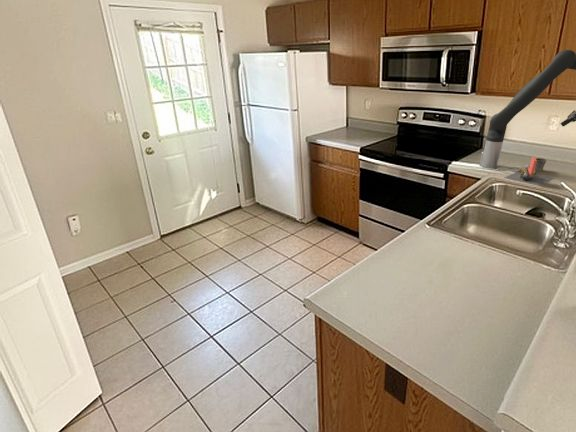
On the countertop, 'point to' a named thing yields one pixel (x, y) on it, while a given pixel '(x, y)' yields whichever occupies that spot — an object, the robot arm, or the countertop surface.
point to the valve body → (526, 175)
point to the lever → (531, 166)
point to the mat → (536, 180)
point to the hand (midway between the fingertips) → (561, 125)
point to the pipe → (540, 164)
